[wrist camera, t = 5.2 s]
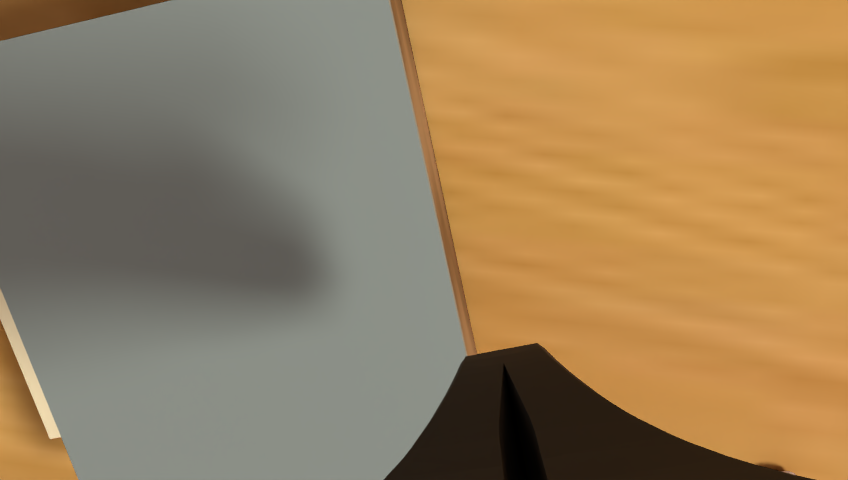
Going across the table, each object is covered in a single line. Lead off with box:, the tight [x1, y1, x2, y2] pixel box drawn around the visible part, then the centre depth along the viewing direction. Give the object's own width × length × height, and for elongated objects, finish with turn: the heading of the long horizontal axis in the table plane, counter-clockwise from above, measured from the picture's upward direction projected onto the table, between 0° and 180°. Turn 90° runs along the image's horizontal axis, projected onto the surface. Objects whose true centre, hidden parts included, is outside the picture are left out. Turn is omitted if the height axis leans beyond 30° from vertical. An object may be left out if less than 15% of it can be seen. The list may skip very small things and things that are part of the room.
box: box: [390, 0, 477, 356], centre depth 19 cm, size 14×10×5 cm
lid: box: [0, 0, 468, 480], centre depth 17 cm, size 15×11×3 cm
